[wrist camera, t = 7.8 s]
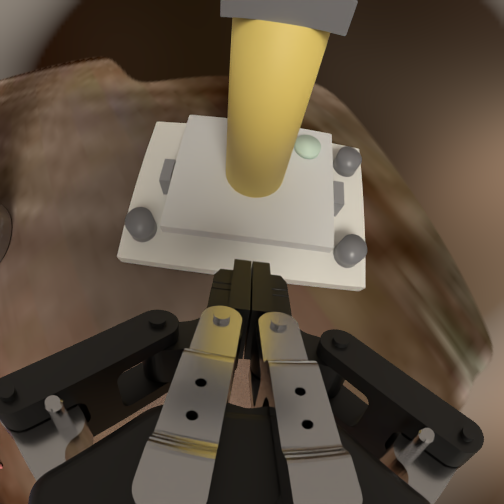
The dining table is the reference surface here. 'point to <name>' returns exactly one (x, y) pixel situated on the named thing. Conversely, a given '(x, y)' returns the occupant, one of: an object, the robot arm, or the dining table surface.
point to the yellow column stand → (262, 135)
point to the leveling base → (226, 251)
